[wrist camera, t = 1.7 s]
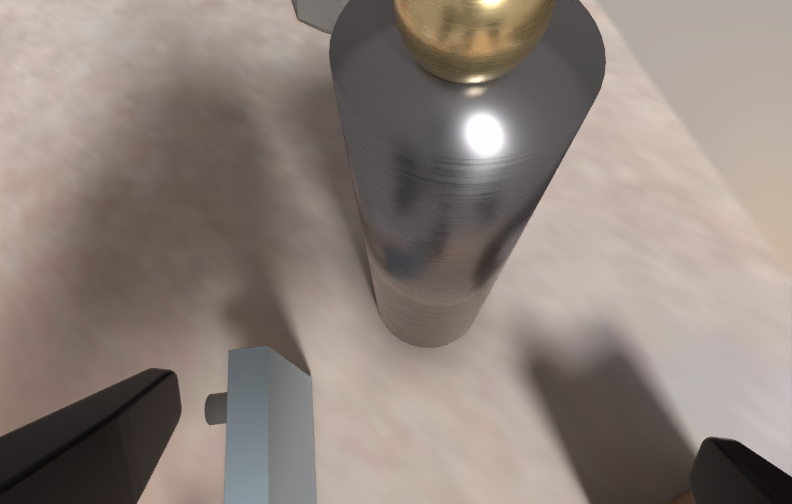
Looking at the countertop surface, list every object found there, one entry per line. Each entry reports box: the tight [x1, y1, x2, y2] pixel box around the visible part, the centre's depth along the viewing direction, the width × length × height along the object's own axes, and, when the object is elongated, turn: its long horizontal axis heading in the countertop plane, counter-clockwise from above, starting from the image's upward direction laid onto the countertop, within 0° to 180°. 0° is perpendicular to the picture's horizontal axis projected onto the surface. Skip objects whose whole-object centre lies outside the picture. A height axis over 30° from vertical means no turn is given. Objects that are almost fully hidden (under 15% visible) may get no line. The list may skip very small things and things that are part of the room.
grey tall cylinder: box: [329, 0, 606, 347], centre depth 14 cm, size 5×5×17 cm
